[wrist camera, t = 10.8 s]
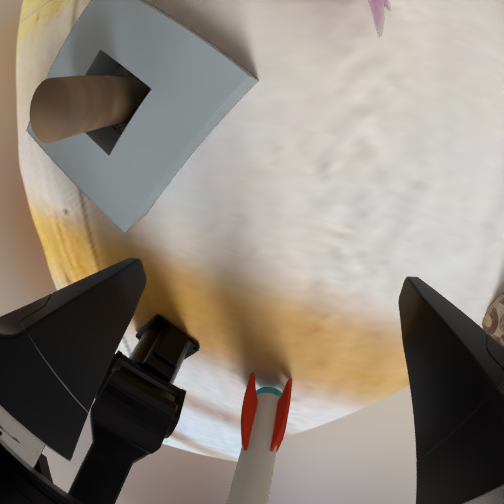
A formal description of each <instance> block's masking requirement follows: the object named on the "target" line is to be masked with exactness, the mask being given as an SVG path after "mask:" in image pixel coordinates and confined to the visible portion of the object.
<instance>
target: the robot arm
mask: <svg viewBox="0 0 504 504" xmlns="http://www.w3.org/2000/svg"><path fill="white" fill-rule="evenodd" d="M145 285H146V275H145V272H144V268H143V264H142V261H141V260H140V259H138V258H128V259H126V260H124V261H121V262H119V263H117V264H115V265H112V266H110V267H108V268H106V269H103V270H101V271H99V272H97V273H94V274H92V275H90V276H88V277H86V278H84V279H81V280H79V281H77V282H75V283H73V284H71V285H68V286H66V287H64V288H62V289H60V290H58V291H56V292H54V293H53V294H50V295H48V296H46V297H43V298H41V299H39V300H37V301H35V302H33V303H31V304H28V305H27V306H24V307H22V308H20V309H17V310H15V311H12V312H10V313H8V314H6V315H3V316H1V317H0V504H115V502H116V500H117V498H118V495H119V493H120V491H121V488H122V486H123V484H124V482H125V479H126V477H127V475H128V473H129V471H130V469H131V466H132V464H133V463H135V462H136V461H138V460H140V459H142V458H144V457H145V456H147V455H149V454H152V453H154V452H155V451H157V450H158V449H159V448H160V447H161V444H162V442H163V440H164V438H168V437H169V436H170V435H171V434H172V432H173V431H174V429H175V427H176V425H177V423H178V421H179V418H180V414H181V410H182V406H183V402H184V398H185V395H186V391H185V390H183V389H180V388H178V387H176V386H174V385H173V382H174V380H175V378H176V376H177V373H178V371H179V369H180V367H181V364H182V362H183V360H184V359H186V358H187V357H189V356H191V355H192V354H194V353H195V352H197V351H198V350H199V348H200V346H199V345H198V344H197V343H195V342H194V341H192V340H191V339H190V338H188V337H187V336H186V335H184V334H183V333H182V332H180V331H179V330H178V329H177V328H175V327H174V326H173V325H171V324H170V323H169V322H168V321H166V320H165V319H164V318H163V317H161V316H160V315H155V316H154V317H153V318H152V319H151V320H150V321H149V322H148V323H147V324H146V325H145V326H144V327H143V328H142V329H141V330H140V331H139V332H137V334H136V338H137V339H139V342H138V344H137V345H136V347H135V349H134V350H133V352H132V354H131V355H130V357H129V358H128V357H126V356H125V355H123V354H122V352H120V351H119V350H118V352H117V353H116V354H115V352H116V350H117V348H118V346H119V343H120V341H121V339H122V337H123V335H124V333H125V331H126V329H127V327H128V325H129V323H130V321H131V319H132V317H133V315H134V312H135V310H136V307H137V305H138V302H139V299H140V297H141V294H142V292H143V290H144V287H145ZM399 311H400V320H401V330H402V340H403V347H404V352H405V358H406V364H407V369H408V376H409V382H410V389H411V397H412V404H413V414H414V424H415V437H416V458H417V462H416V463H417V491H416V492H417V493H416V494H417V495H416V504H504V347H503V346H502V345H500V344H499V343H498V342H497V341H496V340H495V339H494V338H492V337H491V336H490V335H489V334H487V333H486V331H484V330H483V329H482V328H481V327H480V326H479V325H477V324H476V323H475V322H474V321H473V320H472V319H470V318H469V317H468V316H467V315H466V314H464V313H463V312H462V311H461V310H459V309H458V308H457V307H456V306H454V305H453V304H452V303H451V302H449V301H448V300H447V299H446V298H444V297H443V296H442V295H441V294H439V293H438V292H437V291H435V290H434V289H433V288H432V287H430V286H429V285H428V284H426V283H425V282H424V281H422V280H421V279H420V278H418V277H406V279H405V280H404V283H403V287H402V290H401V293H400V296H399ZM94 398H96V400H95V402H94V404H93V405H92V403H93V401H94ZM91 405H92V407H91ZM90 408H91V412H90V421H91V432H92V440H93V442H92V444H91V447H90V448H89V450H88V452H87V454H86V456H85V458H84V460H83V462H82V464H81V466H80V469H79V471H78V473H77V475H76V477H75V479H74V481H73V483H72V485H71V487H70V490H69V492H68V493H66V492H65V491H63V490H62V489H60V488H59V487H57V486H56V485H54V484H53V481H52V478H51V474H50V470H49V466H48V462H47V458H46V456H44V455H43V454H42V451H43V449H44V447H45V446H47V447H49V448H50V449H51V450H53V451H54V452H56V453H57V454H59V455H60V456H62V457H63V458H65V459H66V460H68V461H70V460H71V458H72V456H73V453H74V450H75V447H76V444H77V442H78V439H79V436H80V434H81V431H82V429H83V426H84V423H85V421H86V418H87V416H88V412H89V410H90Z"/></svg>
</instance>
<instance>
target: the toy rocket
mask: <svg viewBox="0 0 504 504" xmlns="http://www.w3.org/2000/svg"><path fill="white" fill-rule="evenodd" d="M291 388H292V380H291V379H289V380H288V381H287V383H286V386H285V388H284V391H283V393H282V392H281V391H279V390H278V389H275V388H272V387H263V388H260V389H258V390H257V391H256V389H255V376H254V374H253V373H252V374H250V377H249V381H248V385H247V389H246V392H245V396H244V401H243V406H242V414H241V436H242V448H241V452H240V456H239V460H238V463H237V467H236V470H235V474H234V478H233V481H232V485H231V488H230V492H229V495H228V499H227V502H226V504H268V499H269V493H270V487H271V481H272V474H273V469H274V462H275V455H276V452H277V450H278V448H279V446H280V444H281V442H282V440H283V436H284V433H285V429H286V424H287V418H288V412H289V406H290V399H291Z"/></svg>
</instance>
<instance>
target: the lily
mask: <svg viewBox="0 0 504 504" xmlns="http://www.w3.org/2000/svg"><path fill="white" fill-rule="evenodd" d="M368 1H369V4H370V7H371V11H372V14H373V18H374V22H375V26H376V30H377V33H378V36H379V37H380V36H381V35H382V32H383V28H384V20H385V6H384V3H385V4H386V6H387V7H388V9H389V10H390V11H391V7H390V2H389V0H368Z"/></svg>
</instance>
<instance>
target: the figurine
mask: <svg viewBox="0 0 504 504" xmlns="http://www.w3.org/2000/svg"><path fill="white" fill-rule="evenodd" d="M482 327H483V330H484V331H486V333H487V334H489V335H490V336H491V337H492V338H494V339H495V340H496V341H497V342H498V343H499V344H500V345H502V346H503V347H504V294H501V295H499V296H498V297H497V299H496V300H495V301H494V302H493V303H492V304H491V305H490V306H489V308H488V310H487V313H486V315H485V318H484V320H483V323H482Z"/></svg>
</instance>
